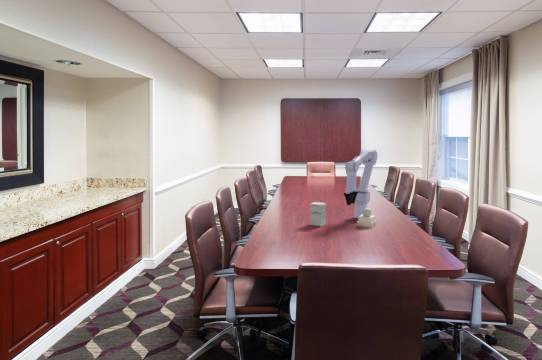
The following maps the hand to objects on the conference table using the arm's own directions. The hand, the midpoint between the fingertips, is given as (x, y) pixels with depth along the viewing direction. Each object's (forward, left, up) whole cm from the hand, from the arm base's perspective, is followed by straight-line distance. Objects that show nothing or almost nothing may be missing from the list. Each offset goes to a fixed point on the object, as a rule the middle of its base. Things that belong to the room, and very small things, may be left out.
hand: (350, 204), depth 233 cm
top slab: (+6, +11, -8) cm, 15 cm away
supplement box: (+17, -14, -11) cm, 25 cm away
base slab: (+6, +11, -11) cm, 17 cm away
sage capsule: (+6, +12, -5) cm, 14 cm away
